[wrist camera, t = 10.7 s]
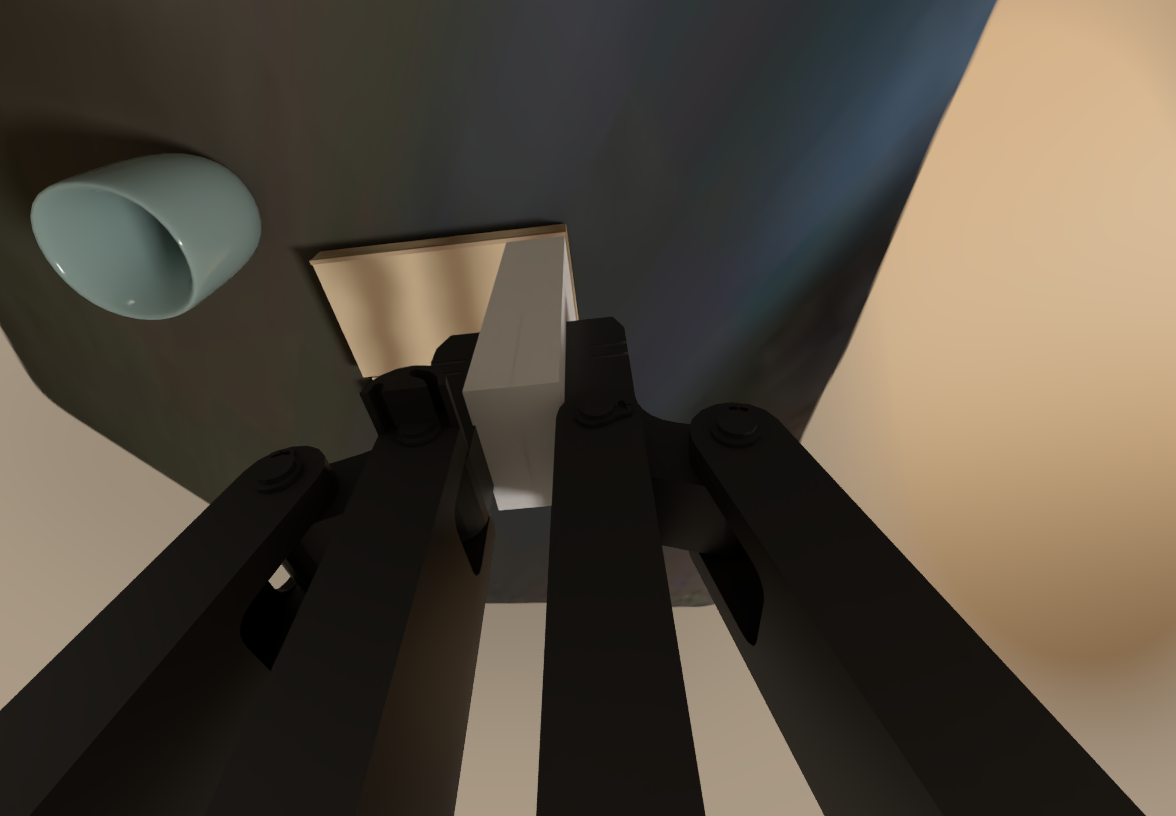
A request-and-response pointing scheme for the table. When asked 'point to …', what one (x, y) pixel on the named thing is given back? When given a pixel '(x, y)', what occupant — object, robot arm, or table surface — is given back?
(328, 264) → the loose plank
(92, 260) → the cup
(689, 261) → the table surface
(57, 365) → the table surface
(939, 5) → the table surface
